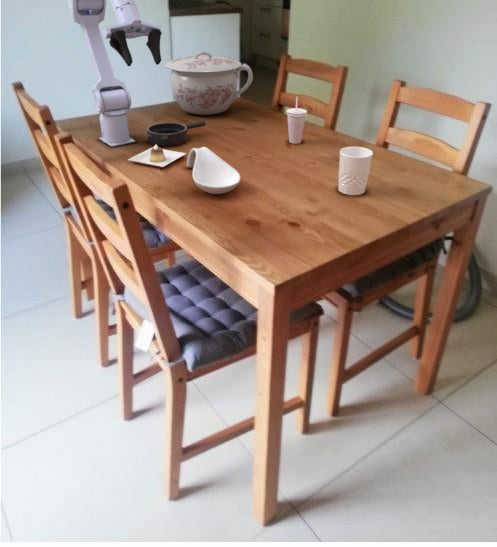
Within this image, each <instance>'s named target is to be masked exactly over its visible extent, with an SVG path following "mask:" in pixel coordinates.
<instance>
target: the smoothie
mask: <svg viewBox="0 0 497 547" xmlns="http://www.w3.org/2000/svg"><path fill="white" fill-rule="evenodd" d="M298 105H299V96H298V95H297V96H295V107H294V108H293V107H291V108H288V109H286V116H287V117H286V118H287V129H288V130H287V131H288V142H289V143H290V144H295V145H296V144H297V145H298V144H301V143H302V138H303V134H304V133H303V132H304V127H305V122H306V117H307V115H308V110H307V109H304V108H299V107H298Z"/></svg>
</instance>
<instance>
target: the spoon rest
mask: <svg viewBox="0 0 497 547" xmlns="http://www.w3.org/2000/svg"><path fill="white" fill-rule="evenodd" d="M186 167H188V168H192V179H193V181H194V184H195V185H196V186H197V188H199V189H200V190H201V191H203V192H205V193H208V194H211V195H222V194H225V193H229V192H230V191H233V190H234V189H235V188H236V187H237V186H238V185H240V182H241V175H240V173H239V171H237V170H236V168H234V167H233V166H231V165H230V164H228V162H226V161H225V160H223V159H222V158H221V157H220V156H218V155H217V154H216V153H214V151H212V150H211V149H209V148H208V147H206V146H202V147H198V148H197V147H193V148H191V149H190V151H189V152H188V156H187V161H186Z"/></svg>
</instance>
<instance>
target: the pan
mask: <svg viewBox="0 0 497 547" xmlns="http://www.w3.org/2000/svg"><path fill="white" fill-rule="evenodd" d="M146 135H147V141H148V142H149V143H150V144H152V145H153V146H155V145H157V146H158V147H174V146H179V145H182V144H184V143H185V142H187V141H188V129H187V127H186V126H185V124H184V123H183V124H182V123H177V122H159V123H154V124H151V125H149V126H148V127H147V129H146Z"/></svg>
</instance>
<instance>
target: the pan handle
mask: <svg viewBox="0 0 497 547" xmlns="http://www.w3.org/2000/svg"><path fill="white" fill-rule="evenodd" d="M184 125H185V126H186V127H187V130H192V129H197V128H201V127H205V126H206V121H204V120H200V121H197V122H191V123H186V124H184Z"/></svg>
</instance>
